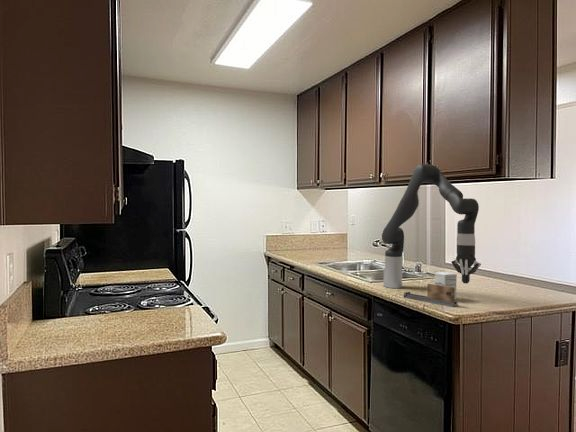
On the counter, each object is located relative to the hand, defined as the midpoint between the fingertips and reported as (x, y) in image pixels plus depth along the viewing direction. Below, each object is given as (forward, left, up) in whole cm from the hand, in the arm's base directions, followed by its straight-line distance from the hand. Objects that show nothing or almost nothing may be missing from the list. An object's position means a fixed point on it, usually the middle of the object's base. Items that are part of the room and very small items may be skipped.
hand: (465, 283), depth 188 cm
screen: (-12, 0, -10) cm, 16 cm away
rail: (-18, 0, -11) cm, 21 cm away
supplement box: (-16, +11, -11) cm, 23 cm away
